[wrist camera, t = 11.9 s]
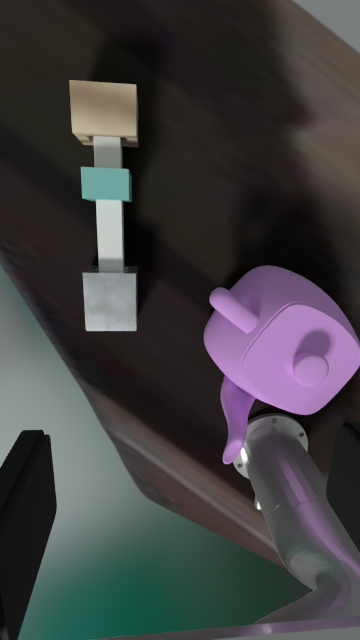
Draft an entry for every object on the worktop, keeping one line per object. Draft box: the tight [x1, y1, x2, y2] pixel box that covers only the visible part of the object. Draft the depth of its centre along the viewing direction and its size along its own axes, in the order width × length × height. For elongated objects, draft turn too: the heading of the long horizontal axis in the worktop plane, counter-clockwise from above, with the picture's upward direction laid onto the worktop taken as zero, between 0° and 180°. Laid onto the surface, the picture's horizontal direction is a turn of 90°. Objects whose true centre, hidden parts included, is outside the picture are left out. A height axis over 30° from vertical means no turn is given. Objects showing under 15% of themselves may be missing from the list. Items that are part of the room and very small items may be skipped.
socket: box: [69, 80, 138, 147], centre depth 37 cm, size 4×6×6 cm
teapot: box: [204, 265, 360, 464], centre depth 42 cm, size 23×21×15 cm
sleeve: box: [83, 265, 138, 331], centre depth 43 cm, size 7×6×6 cm
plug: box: [81, 136, 132, 272], centre depth 38 cm, size 18×5×7 cm, turn 178°
